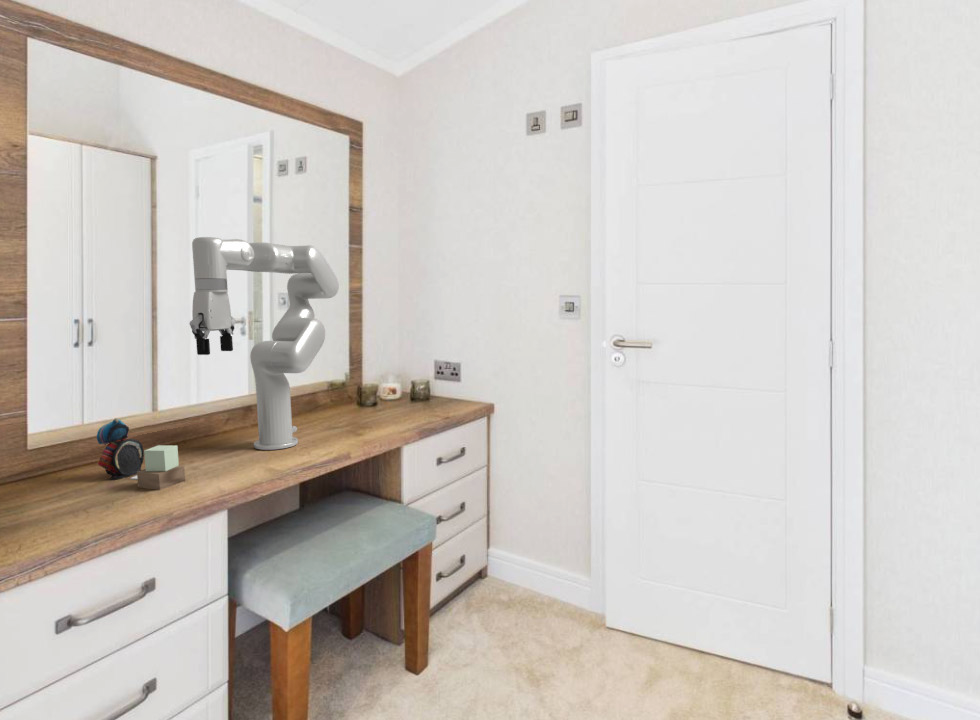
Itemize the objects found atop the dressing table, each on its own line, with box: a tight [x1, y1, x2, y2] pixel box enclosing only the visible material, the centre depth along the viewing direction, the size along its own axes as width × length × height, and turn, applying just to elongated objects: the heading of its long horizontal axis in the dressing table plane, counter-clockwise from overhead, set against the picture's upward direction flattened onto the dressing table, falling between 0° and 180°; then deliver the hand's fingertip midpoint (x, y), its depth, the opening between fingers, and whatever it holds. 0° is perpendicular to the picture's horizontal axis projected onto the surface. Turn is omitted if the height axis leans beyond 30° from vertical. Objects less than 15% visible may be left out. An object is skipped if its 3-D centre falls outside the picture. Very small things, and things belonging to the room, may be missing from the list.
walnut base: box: [136, 465, 186, 491], centre depth 138 cm, size 7×7×4 cm
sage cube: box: [143, 444, 180, 471], centre depth 138 cm, size 5×5×5 cm
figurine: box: [96, 417, 145, 481], centre depth 145 cm, size 10×7×15 cm
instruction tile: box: [130, 475, 138, 481], centre depth 145 cm, size 8×5×1 cm, turn 171°
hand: (215, 352), depth 149 cm, fingers open, 9 cm apart
